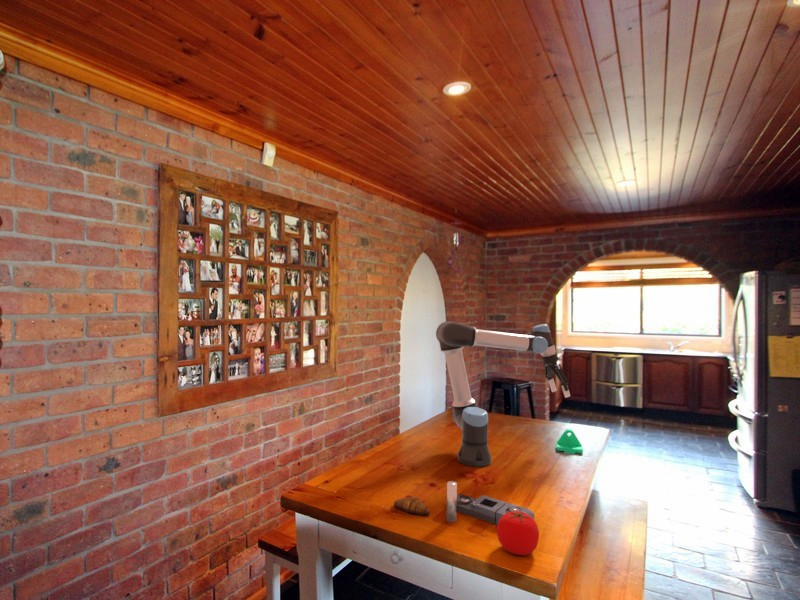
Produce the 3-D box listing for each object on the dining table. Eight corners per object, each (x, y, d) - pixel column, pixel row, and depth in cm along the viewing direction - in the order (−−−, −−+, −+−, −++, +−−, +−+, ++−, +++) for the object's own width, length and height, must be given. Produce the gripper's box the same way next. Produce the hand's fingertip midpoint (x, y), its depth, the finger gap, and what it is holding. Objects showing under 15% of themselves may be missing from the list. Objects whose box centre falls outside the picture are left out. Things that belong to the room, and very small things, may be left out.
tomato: (521, 566, 116) (521, 527, 116) (488, 546, 126) (489, 510, 126) (547, 552, 123) (548, 516, 123) (515, 535, 133) (515, 500, 133)
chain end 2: (470, 515, 144) (470, 502, 144) (482, 506, 151) (482, 493, 152) (528, 535, 132) (528, 520, 132) (538, 524, 139) (538, 510, 140)
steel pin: (444, 520, 141) (445, 483, 141) (449, 516, 144) (450, 480, 144) (453, 523, 139) (453, 486, 139) (458, 519, 142) (458, 483, 142)
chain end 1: (442, 506, 151) (442, 498, 151) (455, 497, 158) (455, 490, 158) (495, 524, 139) (495, 516, 139) (506, 514, 146) (506, 506, 146)
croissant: (433, 512, 147) (433, 497, 147) (424, 520, 141) (425, 505, 141) (399, 502, 154) (399, 488, 154) (389, 510, 148) (390, 495, 148)
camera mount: (556, 452, 212) (557, 431, 213) (556, 447, 220) (556, 427, 220) (583, 455, 209) (583, 434, 209) (581, 450, 216) (581, 430, 216)
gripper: (568, 354, 205) (580, 396, 205) (544, 349, 230) (555, 387, 230) (553, 359, 204) (566, 401, 204) (531, 353, 229) (543, 391, 229)
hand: (560, 394), depth 217 cm, fingers open, 13 cm apart
